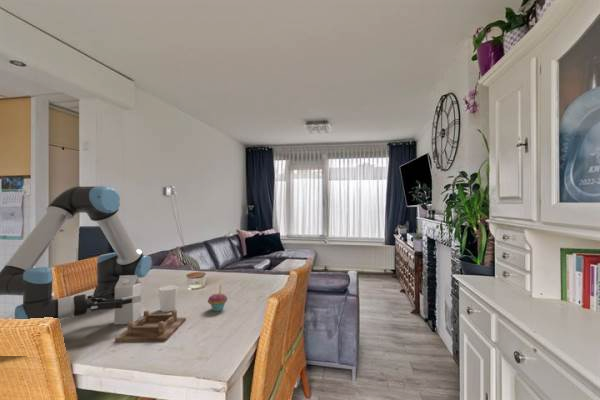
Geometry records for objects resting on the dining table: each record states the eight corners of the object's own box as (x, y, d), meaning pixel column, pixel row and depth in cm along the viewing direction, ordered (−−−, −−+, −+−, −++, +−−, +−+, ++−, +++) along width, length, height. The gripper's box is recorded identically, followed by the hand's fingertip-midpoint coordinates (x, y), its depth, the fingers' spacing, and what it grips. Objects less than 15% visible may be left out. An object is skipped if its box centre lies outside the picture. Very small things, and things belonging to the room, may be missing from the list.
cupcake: (230, 307, 133) (230, 281, 133) (219, 314, 125) (219, 286, 125) (215, 305, 136) (215, 280, 136) (203, 311, 128) (203, 285, 128)
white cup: (170, 313, 126) (170, 290, 127) (155, 311, 128) (155, 289, 128) (181, 306, 134) (181, 285, 134) (166, 305, 136) (166, 284, 136)
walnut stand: (142, 320, 118) (142, 308, 118) (185, 320, 118) (185, 307, 118) (115, 341, 100) (115, 326, 100) (166, 341, 100) (166, 326, 100)
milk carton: (123, 318, 121) (124, 273, 121) (141, 317, 122) (141, 273, 122) (114, 325, 114) (114, 277, 114) (132, 324, 115) (132, 277, 115)
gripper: (70, 307, 115) (130, 296, 129) (75, 327, 97) (144, 311, 111) (71, 289, 115) (130, 279, 129) (75, 305, 97) (144, 292, 111)
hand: (136, 294), depth 120 cm, fingers open, 13 cm apart
